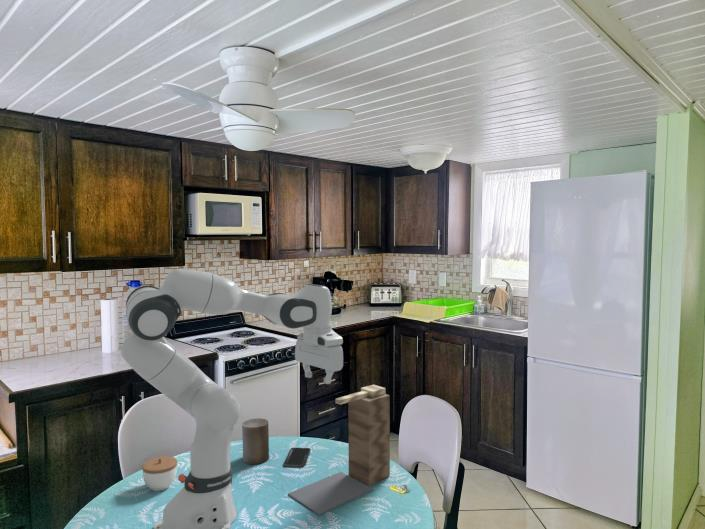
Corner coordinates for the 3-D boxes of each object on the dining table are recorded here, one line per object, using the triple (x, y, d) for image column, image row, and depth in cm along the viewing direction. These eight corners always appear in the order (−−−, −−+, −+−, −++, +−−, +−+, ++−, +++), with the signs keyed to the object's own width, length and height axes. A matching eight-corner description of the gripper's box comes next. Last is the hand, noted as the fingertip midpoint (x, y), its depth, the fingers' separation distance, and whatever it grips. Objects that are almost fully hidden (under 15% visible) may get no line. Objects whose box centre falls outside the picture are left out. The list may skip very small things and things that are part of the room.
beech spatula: (343, 406, 152) (343, 399, 152) (331, 401, 157) (331, 395, 157) (385, 393, 165) (385, 388, 165) (373, 390, 169) (373, 384, 169)
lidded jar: (177, 476, 165) (177, 449, 164) (177, 491, 155) (177, 462, 154) (143, 481, 161) (143, 454, 161) (141, 497, 151) (141, 467, 151)
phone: (283, 464, 172) (291, 447, 187) (283, 467, 172) (291, 450, 187) (304, 465, 171) (311, 448, 186) (304, 468, 171) (311, 450, 186)
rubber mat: (319, 515, 140) (319, 513, 140) (288, 494, 152) (288, 493, 152) (372, 490, 155) (372, 488, 155) (340, 473, 167) (340, 471, 167)
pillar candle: (274, 457, 180) (273, 417, 179) (256, 466, 171) (255, 425, 171) (255, 451, 185) (254, 413, 185) (236, 461, 177) (236, 420, 176)
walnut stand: (368, 485, 158) (368, 401, 157) (348, 475, 165) (348, 394, 164) (389, 476, 164) (389, 395, 163) (369, 466, 172) (369, 388, 171)
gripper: (290, 333, 154) (290, 375, 155) (330, 342, 139) (330, 389, 139) (305, 330, 158) (306, 372, 159) (346, 339, 143) (346, 385, 144)
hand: (317, 380), depth 149 cm, fingers open, 8 cm apart
